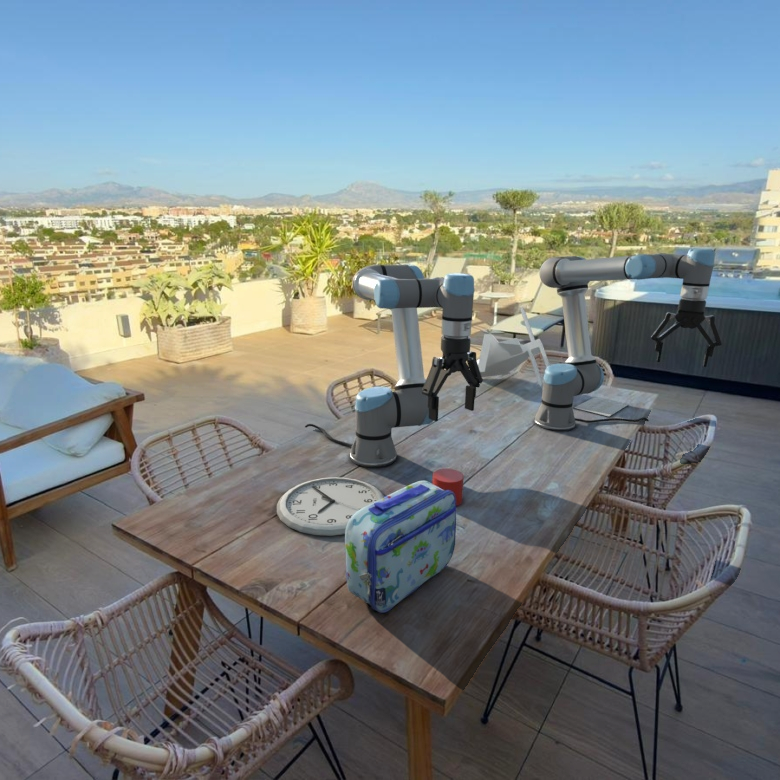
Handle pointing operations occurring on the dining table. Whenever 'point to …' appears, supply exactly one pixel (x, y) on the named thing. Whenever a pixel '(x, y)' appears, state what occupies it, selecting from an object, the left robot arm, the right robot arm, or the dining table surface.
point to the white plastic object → (509, 354)
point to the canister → (450, 482)
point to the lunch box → (399, 543)
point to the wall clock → (325, 504)
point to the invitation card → (601, 406)
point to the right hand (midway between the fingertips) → (680, 363)
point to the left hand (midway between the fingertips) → (451, 414)
